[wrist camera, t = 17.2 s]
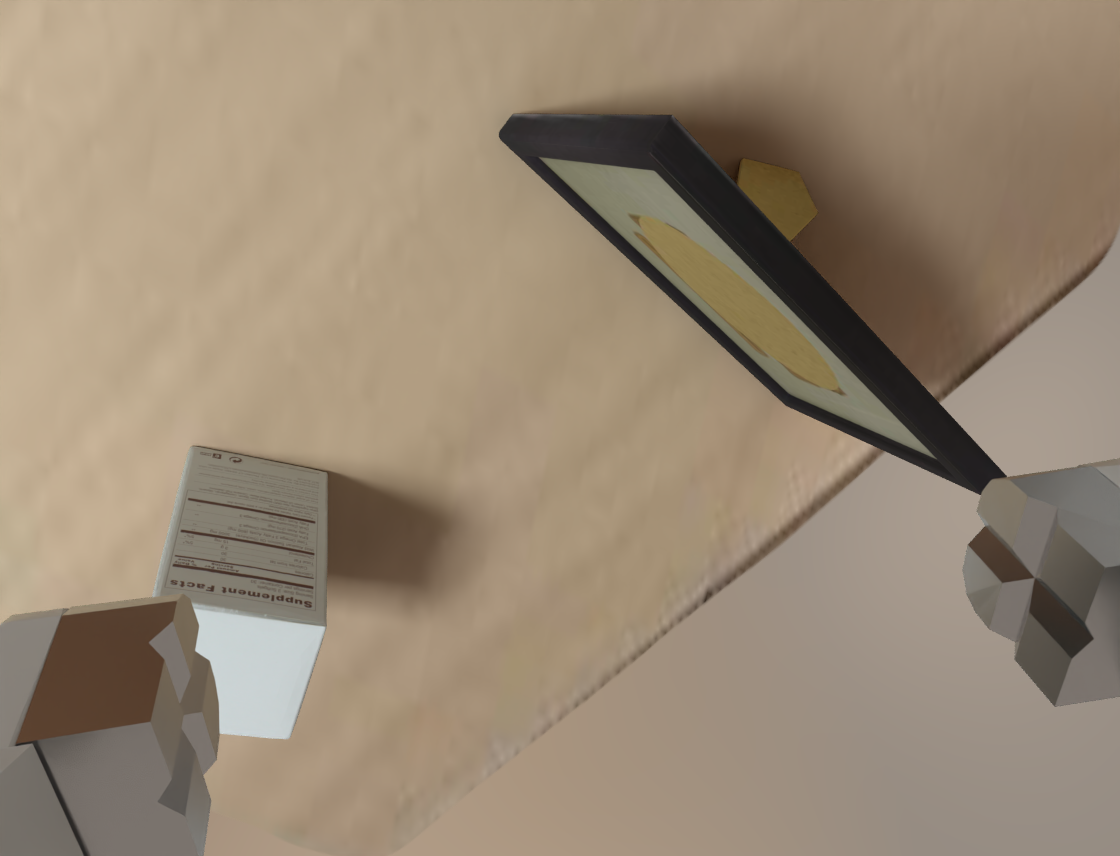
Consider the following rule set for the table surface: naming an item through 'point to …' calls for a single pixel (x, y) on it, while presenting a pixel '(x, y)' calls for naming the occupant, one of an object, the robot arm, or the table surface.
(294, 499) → the supplement box
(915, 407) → the picture frame
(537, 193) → the table surface
